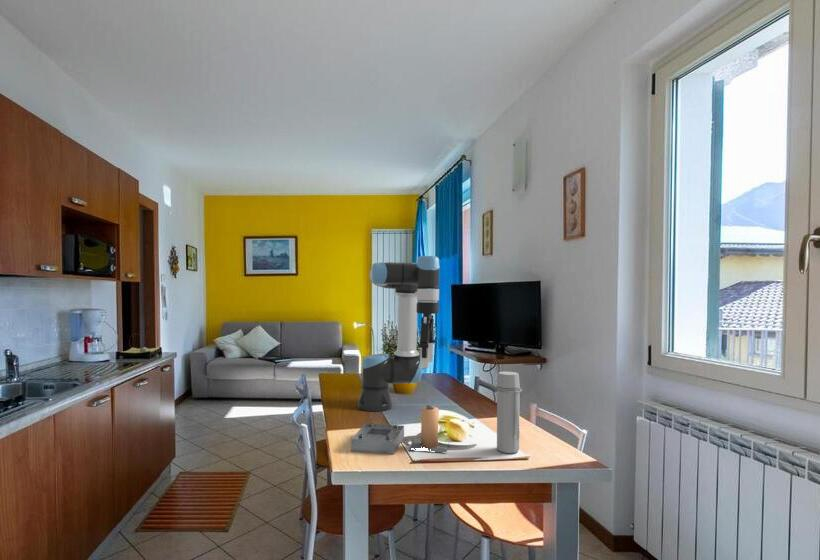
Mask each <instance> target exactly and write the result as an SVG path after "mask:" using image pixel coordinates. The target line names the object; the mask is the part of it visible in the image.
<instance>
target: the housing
mask: <svg viewBox="0 0 820 560" xmlns="http://www.w3.org/2000/svg"><path fill="white" fill-rule="evenodd" d="M404 438H405V425H400V424H399V425H398V424H379V423H365V424H364V425H362V427H361V428H360V429H358V431H357V432H356V433H355V434H354V435H353V436H352V437H351V438H350V439H351V441H350V451H351V452H354V453H367V454H369V453H370V454H382V455H383V454H384V455H395V454H396V453H397V451H398V449H399V447H400V445H401V443H402V441H403V440H404Z"/></svg>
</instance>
